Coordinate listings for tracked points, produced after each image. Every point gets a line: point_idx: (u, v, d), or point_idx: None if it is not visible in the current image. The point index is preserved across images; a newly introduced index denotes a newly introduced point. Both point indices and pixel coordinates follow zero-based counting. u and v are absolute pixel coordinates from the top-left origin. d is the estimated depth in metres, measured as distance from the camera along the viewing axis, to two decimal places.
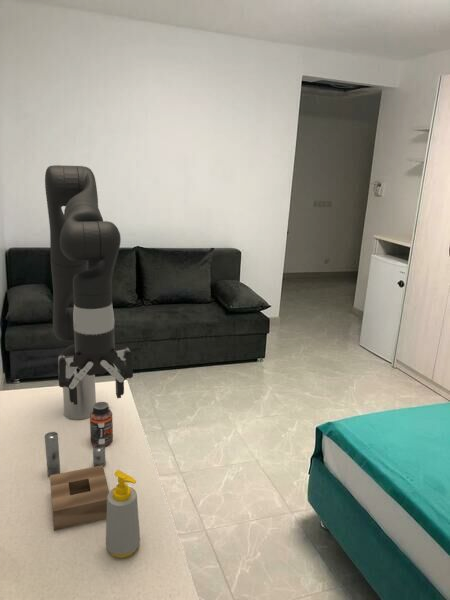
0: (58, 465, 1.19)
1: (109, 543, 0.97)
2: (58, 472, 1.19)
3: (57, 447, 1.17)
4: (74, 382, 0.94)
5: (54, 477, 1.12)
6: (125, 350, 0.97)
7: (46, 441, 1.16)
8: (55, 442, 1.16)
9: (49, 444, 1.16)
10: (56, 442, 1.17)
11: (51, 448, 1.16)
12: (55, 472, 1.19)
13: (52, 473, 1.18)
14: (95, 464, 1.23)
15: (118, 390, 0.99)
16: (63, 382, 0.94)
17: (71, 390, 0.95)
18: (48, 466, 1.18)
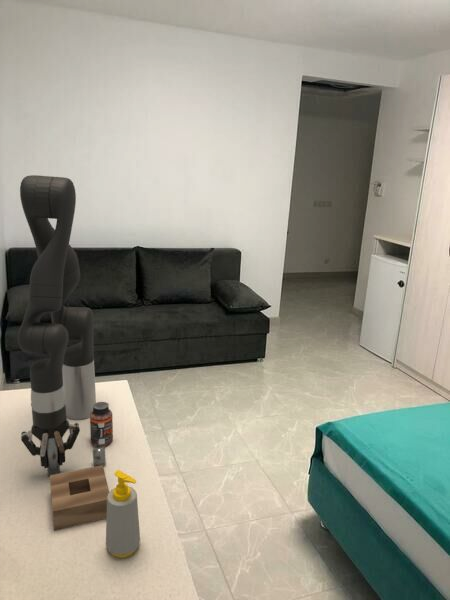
0: (58, 465, 1.19)
1: (109, 544, 0.97)
2: (58, 472, 1.19)
3: (57, 447, 1.17)
4: (42, 451, 1.16)
5: (54, 477, 1.12)
6: (76, 426, 1.18)
7: None
8: (55, 442, 1.16)
9: (49, 444, 1.16)
10: (56, 442, 1.17)
11: (51, 448, 1.16)
12: (55, 472, 1.19)
13: (52, 473, 1.18)
14: (95, 464, 1.23)
15: (60, 459, 1.18)
16: (35, 451, 1.15)
17: (42, 457, 1.17)
18: (48, 466, 1.18)
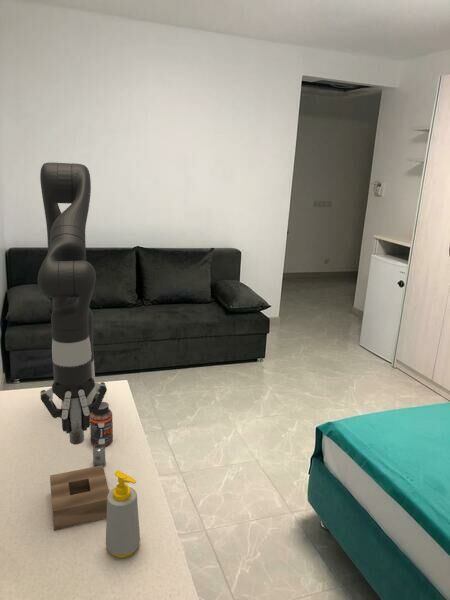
0: (82, 430, 1.04)
1: (109, 544, 0.97)
2: (82, 438, 1.04)
3: (81, 409, 1.02)
4: (65, 413, 1.01)
5: (54, 477, 1.12)
6: (102, 385, 1.03)
7: None
8: (79, 403, 1.01)
9: (73, 405, 1.01)
10: (80, 403, 1.02)
11: (74, 409, 1.01)
12: (78, 438, 1.04)
13: (75, 439, 1.03)
14: (95, 464, 1.23)
15: (84, 423, 1.03)
16: (56, 413, 1.00)
17: (63, 420, 1.02)
18: (71, 431, 1.03)
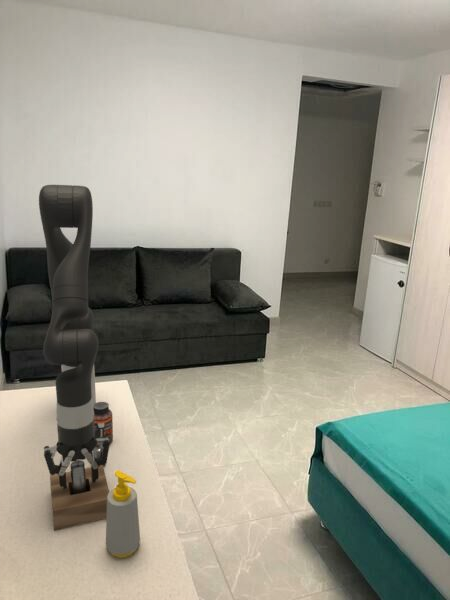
0: None
1: (109, 544, 0.97)
2: None
3: (84, 477, 1.08)
4: (63, 470, 1.05)
5: (54, 477, 1.12)
6: (105, 439, 1.07)
7: (72, 471, 1.06)
8: (82, 472, 1.07)
9: (76, 474, 1.06)
10: (83, 472, 1.07)
11: (77, 478, 1.06)
12: None
13: None
14: None
15: (93, 476, 1.08)
16: (53, 470, 1.04)
17: (61, 476, 1.06)
18: None
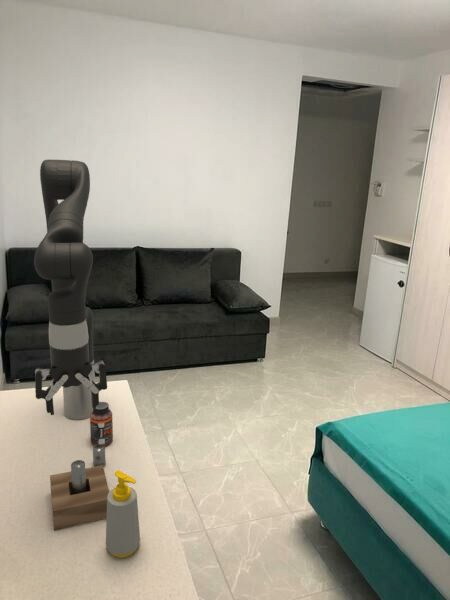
0: None
1: (109, 544, 0.97)
2: None
3: (84, 477, 1.08)
4: (50, 394, 0.99)
5: (54, 477, 1.12)
6: (99, 363, 1.02)
7: (73, 471, 1.06)
8: (83, 472, 1.07)
9: (76, 474, 1.06)
10: (83, 472, 1.07)
11: (78, 478, 1.07)
12: None
13: None
14: (95, 464, 1.23)
15: (93, 401, 1.03)
16: (40, 394, 0.98)
17: (48, 401, 1.00)
18: None
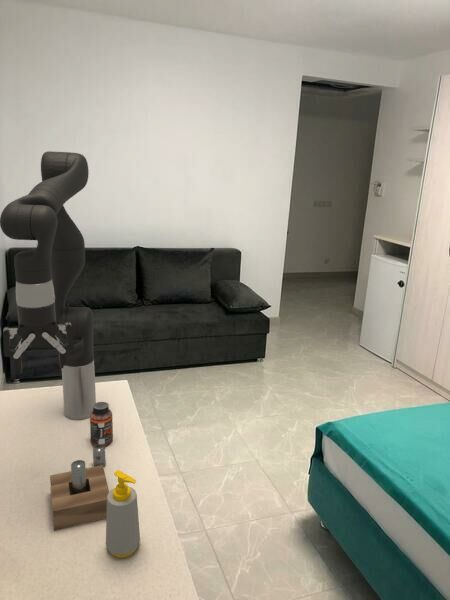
0: None
1: (109, 544, 0.97)
2: None
3: (84, 477, 1.08)
4: (18, 352, 1.03)
5: (54, 477, 1.12)
6: (66, 324, 1.06)
7: (73, 471, 1.06)
8: (83, 472, 1.07)
9: (77, 474, 1.06)
10: (83, 472, 1.07)
11: (78, 478, 1.07)
12: None
13: None
14: (95, 464, 1.23)
15: (60, 361, 1.08)
16: (7, 352, 1.03)
17: (16, 360, 1.04)
18: None
